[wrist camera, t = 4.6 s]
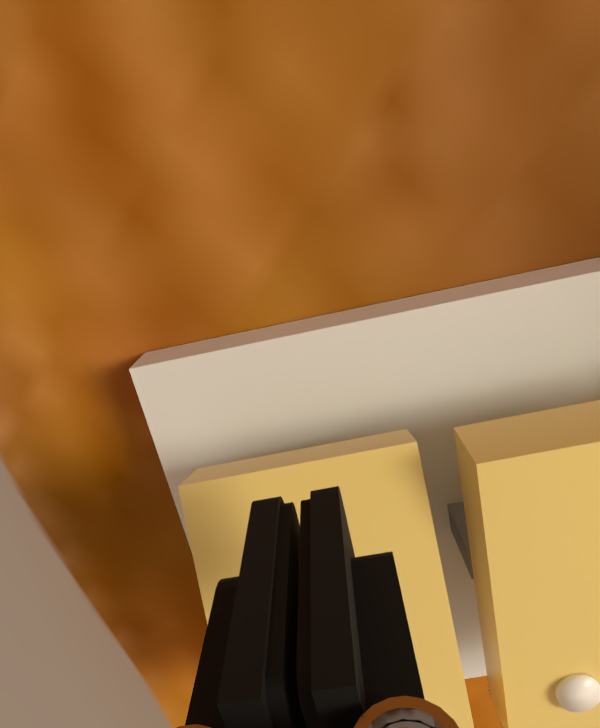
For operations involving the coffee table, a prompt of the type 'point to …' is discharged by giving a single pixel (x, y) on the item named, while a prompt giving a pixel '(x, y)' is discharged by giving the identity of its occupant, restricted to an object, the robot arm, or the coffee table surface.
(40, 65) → the coffee table surface
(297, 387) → the board
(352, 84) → the coffee table surface
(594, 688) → the key
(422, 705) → the robot arm
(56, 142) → the coffee table surface
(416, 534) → the key
